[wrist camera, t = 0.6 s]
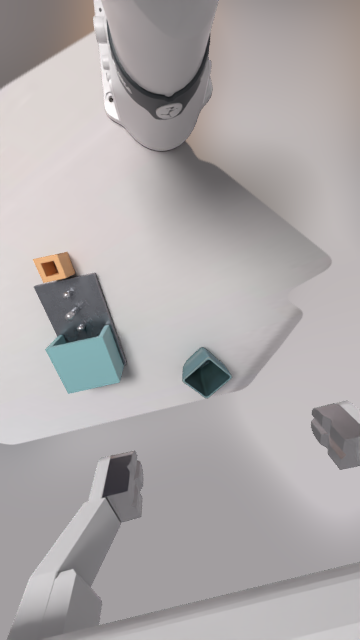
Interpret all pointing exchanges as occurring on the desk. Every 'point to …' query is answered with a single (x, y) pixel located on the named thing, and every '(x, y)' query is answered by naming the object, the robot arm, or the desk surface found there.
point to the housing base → (77, 308)
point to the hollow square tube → (49, 270)
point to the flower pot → (205, 373)
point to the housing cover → (86, 361)
